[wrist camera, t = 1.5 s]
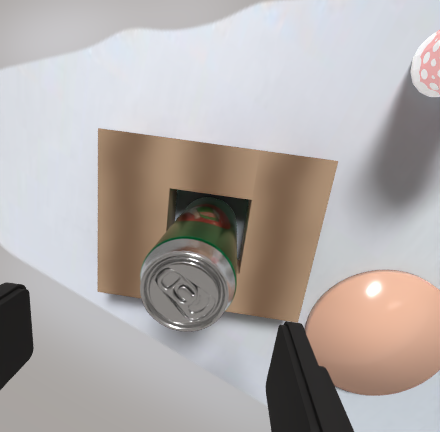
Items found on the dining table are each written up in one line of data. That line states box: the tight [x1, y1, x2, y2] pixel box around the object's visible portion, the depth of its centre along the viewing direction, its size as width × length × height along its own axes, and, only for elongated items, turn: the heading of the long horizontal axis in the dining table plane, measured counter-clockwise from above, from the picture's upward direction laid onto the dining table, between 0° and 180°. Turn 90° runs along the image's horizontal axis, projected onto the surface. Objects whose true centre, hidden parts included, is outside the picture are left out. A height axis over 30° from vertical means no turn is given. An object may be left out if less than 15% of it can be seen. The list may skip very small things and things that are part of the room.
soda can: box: [140, 197, 237, 332], centre depth 18 cm, size 5×5×12 cm
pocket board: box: [98, 128, 338, 322], centre depth 22 cm, size 18×14×3 cm
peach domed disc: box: [305, 270, 440, 395], centre depth 25 cm, size 14×14×1 cm
